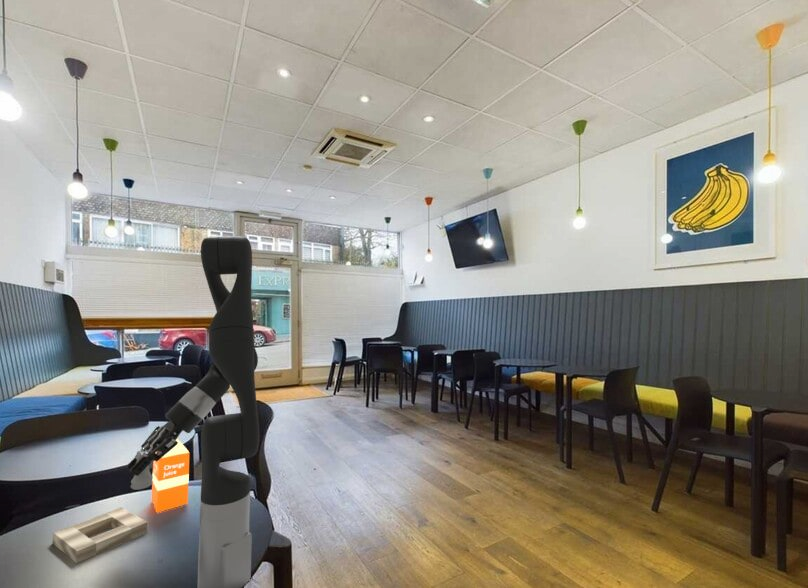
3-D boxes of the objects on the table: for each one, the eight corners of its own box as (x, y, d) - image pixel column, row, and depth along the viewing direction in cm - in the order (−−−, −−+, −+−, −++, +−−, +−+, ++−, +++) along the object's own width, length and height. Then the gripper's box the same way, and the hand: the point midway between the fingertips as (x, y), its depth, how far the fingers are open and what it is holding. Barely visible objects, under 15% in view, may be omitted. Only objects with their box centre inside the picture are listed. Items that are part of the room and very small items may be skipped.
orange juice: (156, 513, 104) (159, 438, 105) (150, 502, 110) (153, 431, 112) (188, 504, 109) (191, 433, 110) (181, 493, 116) (184, 426, 117)
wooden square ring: (146, 532, 95) (147, 522, 95) (76, 563, 83) (76, 551, 83) (120, 517, 102) (121, 507, 102) (52, 543, 90) (53, 532, 90)
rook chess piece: (141, 490, 87) (142, 455, 88) (125, 489, 88) (126, 453, 89) (157, 482, 91) (158, 448, 92) (142, 481, 92) (143, 447, 93)
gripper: (173, 396, 101) (114, 454, 92) (187, 404, 91) (122, 471, 82) (194, 413, 104) (139, 471, 95) (211, 423, 94) (151, 489, 85)
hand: (132, 470), depth 89 cm, fingers closed on rook chess piece, 3 cm apart
